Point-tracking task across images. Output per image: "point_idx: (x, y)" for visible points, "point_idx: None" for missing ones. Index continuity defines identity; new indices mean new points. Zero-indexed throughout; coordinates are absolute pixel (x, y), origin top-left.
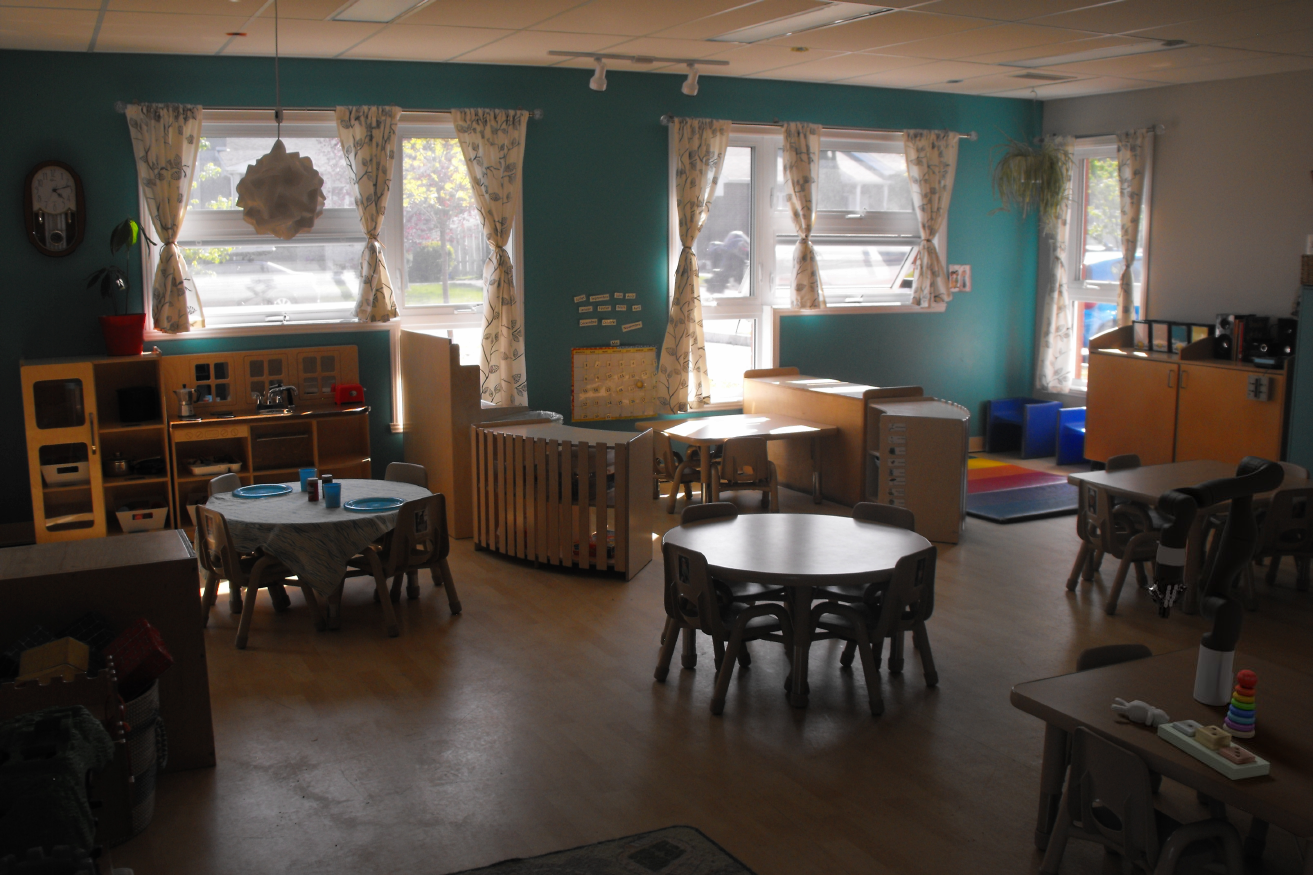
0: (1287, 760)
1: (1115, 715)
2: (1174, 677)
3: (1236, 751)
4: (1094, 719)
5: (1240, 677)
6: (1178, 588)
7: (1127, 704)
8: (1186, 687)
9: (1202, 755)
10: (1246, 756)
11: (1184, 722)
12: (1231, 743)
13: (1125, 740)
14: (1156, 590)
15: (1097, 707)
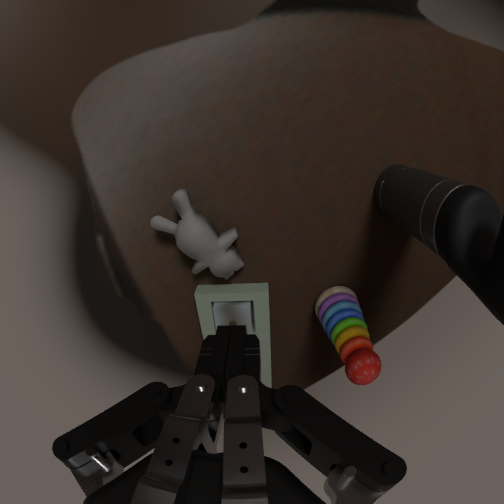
0: (324, 365)
1: (170, 210)
2: (409, 94)
3: None
4: (127, 218)
5: (347, 372)
6: (327, 493)
7: (187, 216)
8: (400, 135)
9: None
10: None
11: (232, 313)
12: (266, 356)
13: (140, 287)
14: (110, 476)
15: (157, 174)
